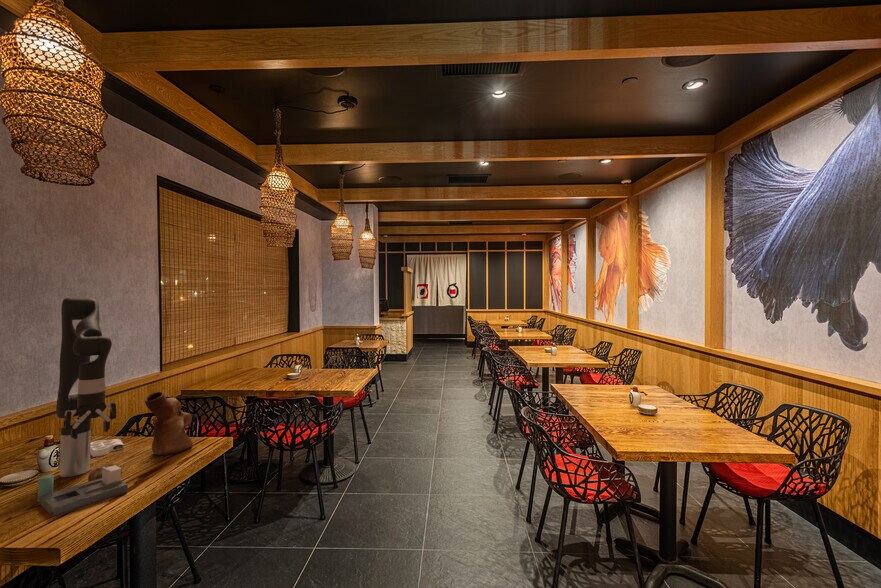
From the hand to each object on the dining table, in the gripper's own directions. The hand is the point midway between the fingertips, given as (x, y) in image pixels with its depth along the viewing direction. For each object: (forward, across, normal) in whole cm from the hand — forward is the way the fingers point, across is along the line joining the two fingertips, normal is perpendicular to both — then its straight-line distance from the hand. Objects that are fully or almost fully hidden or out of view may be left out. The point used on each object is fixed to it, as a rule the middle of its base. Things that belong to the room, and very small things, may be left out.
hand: (90, 434), depth 139 cm
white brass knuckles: (+26, -21, -58) cm, 67 cm away
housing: (+23, +1, -2) cm, 23 cm away
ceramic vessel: (+24, -36, -26) cm, 51 cm away
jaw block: (+20, -7, -2) cm, 22 cm away
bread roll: (+24, -10, -17) cm, 31 cm away
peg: (+24, +8, -14) cm, 29 cm away
